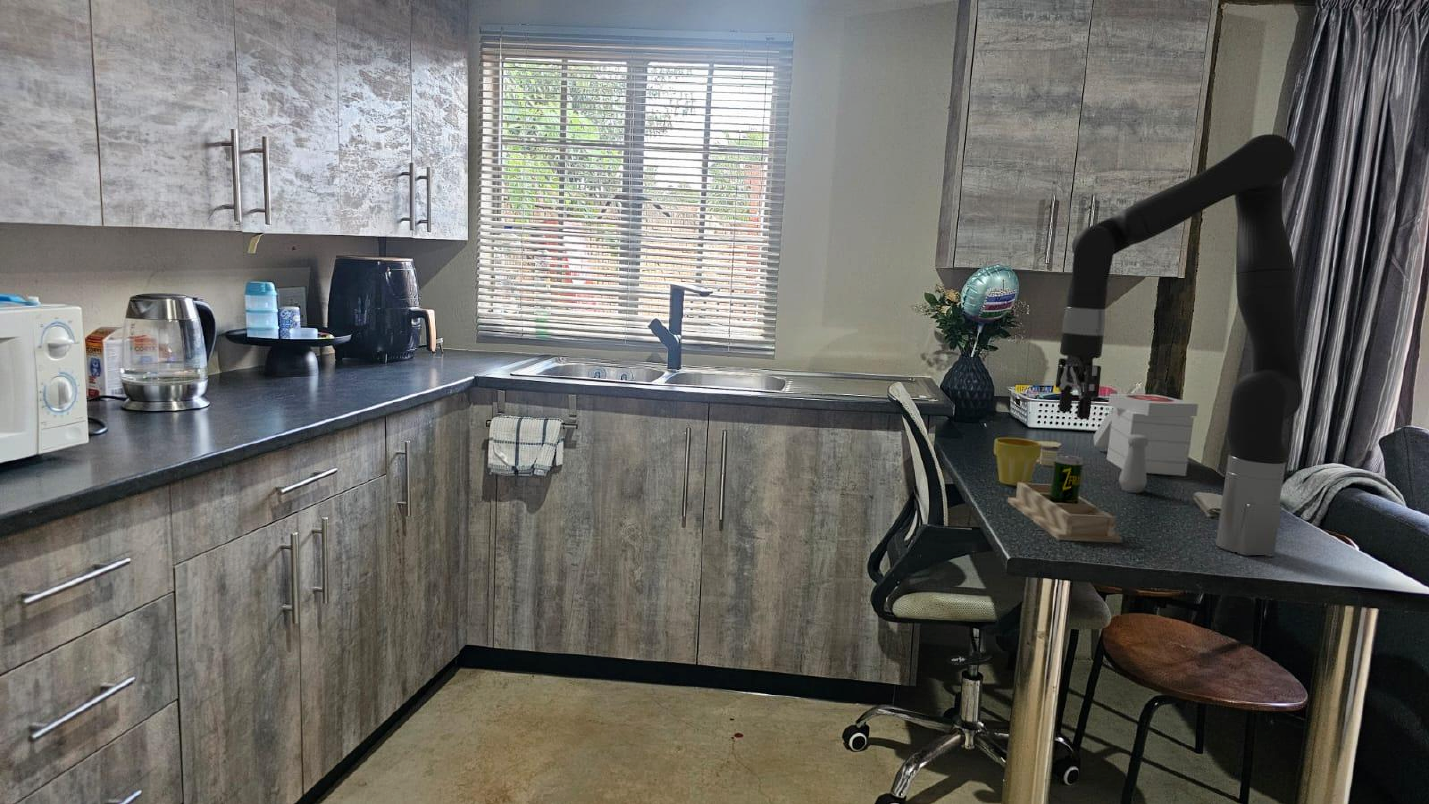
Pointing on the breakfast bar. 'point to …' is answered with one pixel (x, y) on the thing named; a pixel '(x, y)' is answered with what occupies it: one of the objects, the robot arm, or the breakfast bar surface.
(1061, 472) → the beer can
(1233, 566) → the breakfast bar surface
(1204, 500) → the washcloth
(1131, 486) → the salt shaker
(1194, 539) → the breakfast bar surface
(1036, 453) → the plant pot
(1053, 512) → the wooden compartment organizer
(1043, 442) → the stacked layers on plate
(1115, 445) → the pizza boxes
